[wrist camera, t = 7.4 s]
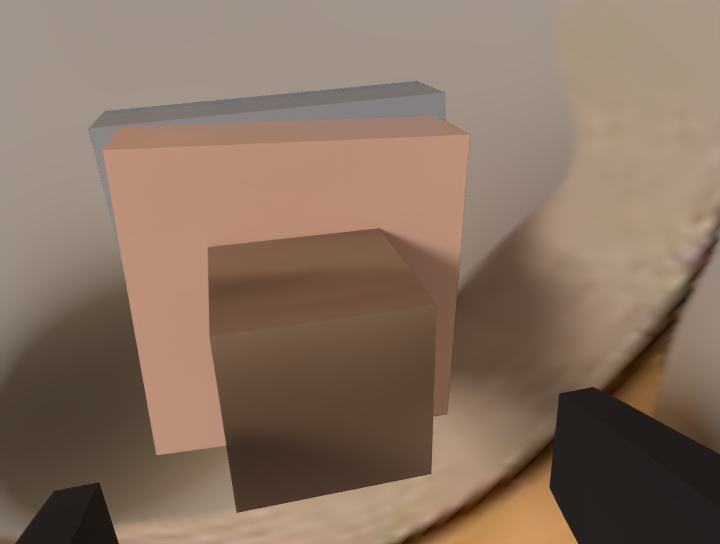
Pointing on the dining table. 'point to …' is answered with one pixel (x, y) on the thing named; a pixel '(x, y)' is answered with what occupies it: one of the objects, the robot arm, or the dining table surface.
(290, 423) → the walnut cube
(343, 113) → the slate slab
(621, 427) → the robot arm
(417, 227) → the terracotta tile
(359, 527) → the dining table surface
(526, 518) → the dining table surface
